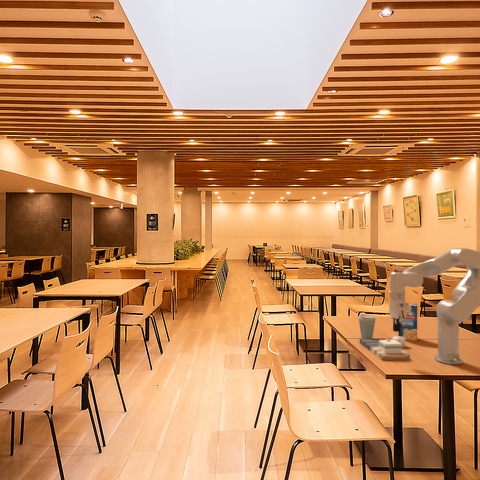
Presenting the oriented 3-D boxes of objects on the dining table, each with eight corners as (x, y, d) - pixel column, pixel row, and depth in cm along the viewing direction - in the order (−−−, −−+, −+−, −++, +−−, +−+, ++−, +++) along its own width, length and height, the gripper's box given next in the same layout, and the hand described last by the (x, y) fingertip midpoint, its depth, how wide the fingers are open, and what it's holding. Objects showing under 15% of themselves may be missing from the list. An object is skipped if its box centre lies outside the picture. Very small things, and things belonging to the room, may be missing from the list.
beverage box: (417, 340, 231) (417, 305, 231) (398, 339, 235) (398, 304, 235) (417, 338, 237) (417, 303, 237) (398, 336, 242) (398, 302, 242)
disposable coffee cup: (371, 336, 242) (371, 313, 242) (378, 341, 231) (378, 317, 231) (355, 336, 241) (355, 313, 241) (361, 341, 231) (361, 317, 231)
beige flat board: (409, 359, 195) (409, 354, 195) (381, 360, 195) (381, 355, 195) (383, 342, 227) (383, 338, 227) (359, 342, 227) (359, 338, 227)
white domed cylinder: (407, 347, 217) (407, 339, 217) (395, 347, 217) (395, 339, 217) (401, 344, 224) (401, 335, 224) (390, 344, 224) (390, 336, 224)
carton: (401, 353, 198) (401, 342, 198) (385, 353, 198) (385, 343, 198) (394, 348, 206) (394, 338, 206) (378, 349, 206) (378, 338, 206)
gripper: (411, 298, 186) (410, 335, 186) (397, 293, 201) (397, 327, 201) (396, 298, 185) (396, 334, 185) (384, 293, 200) (383, 327, 200)
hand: (396, 331), depth 193 cm, fingers closed
